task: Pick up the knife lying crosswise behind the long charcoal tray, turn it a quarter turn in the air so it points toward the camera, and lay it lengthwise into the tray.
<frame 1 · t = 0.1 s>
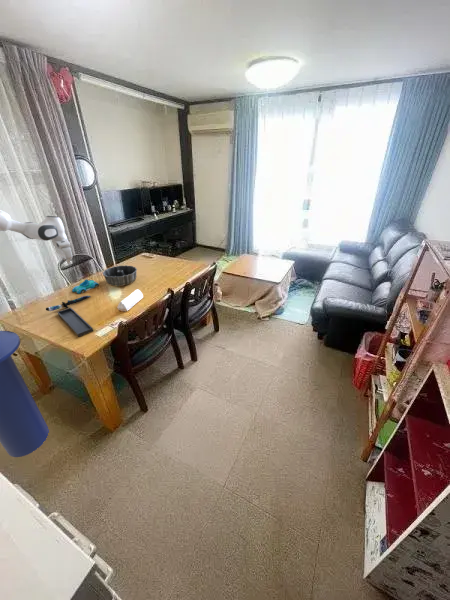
hand: (66, 262, 170), 29 cm above the table, tool pointing down, fingers open, 8 cm apart
white elongated bar: (131, 304, 179), on the table
bundt pan: (122, 282, 212), on the table
knife tray: (74, 322, 158), on the table
knife: (71, 306, 177), on the table
toy car: (85, 288, 201), on the table
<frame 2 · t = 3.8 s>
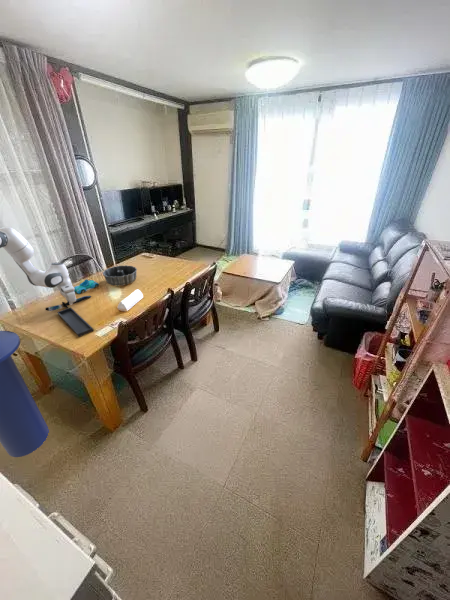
hand: (70, 303, 176), 2 cm above the table, tool pointing down, fingers closed on knife
knife: (71, 306, 177), on the table, touching gripper
everything else where it was.
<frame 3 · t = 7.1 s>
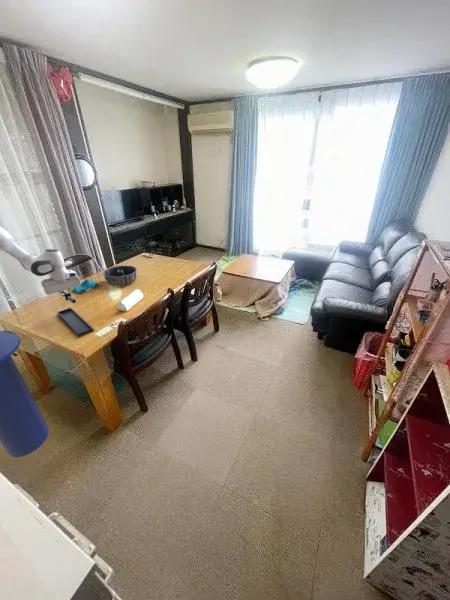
hand: (66, 295, 160), 14 cm above the table, tool pointing down, fingers closed on knife
knife: (67, 298, 162), point 12 cm above the table, touching gripper
everything else where it was.
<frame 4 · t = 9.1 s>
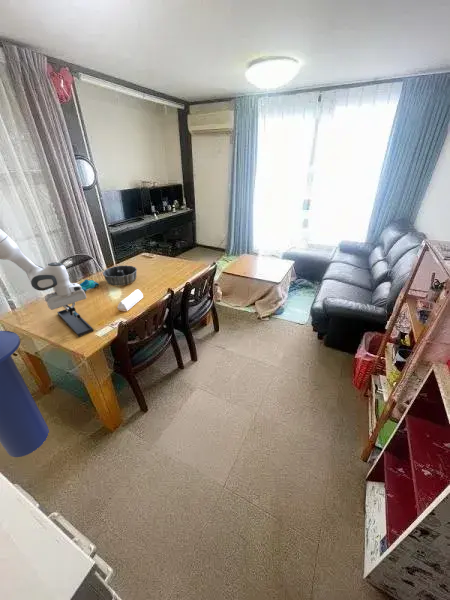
hand: (70, 310, 154), 9 cm above the table, tool pointing down, fingers closed on knife
knife: (71, 312, 155), point 7 cm above the table, touching gripper
everything else where it was.
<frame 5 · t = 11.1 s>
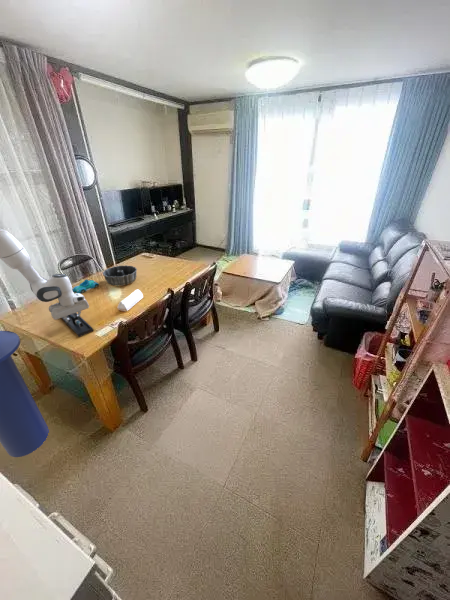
hand: (73, 319, 157), 2 cm above the table, tool pointing down, fingers open, 5 cm apart
knife: (75, 321, 158), resting on knife tray
everything else where it was.
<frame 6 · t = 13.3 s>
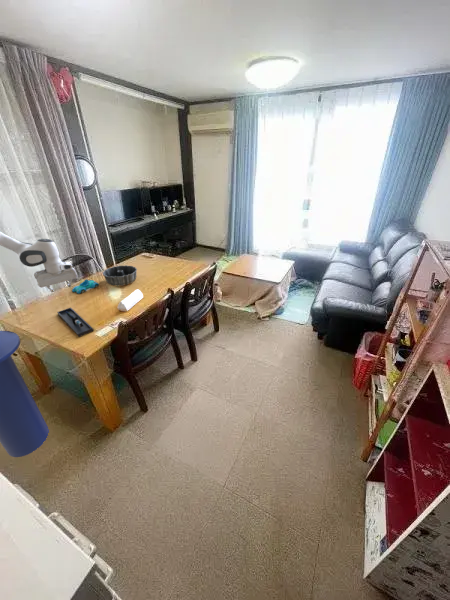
hand: (61, 289, 152), 21 cm above the table, tool pointing down, fingers open, 8 cm apart
nothing on the table moved.
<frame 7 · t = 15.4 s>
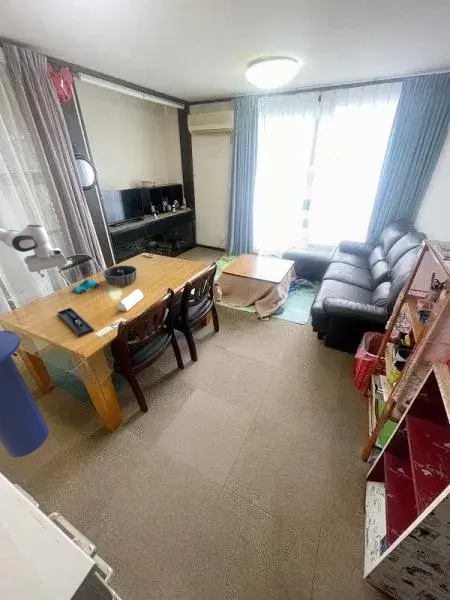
hand: (51, 274, 156), 27 cm above the table, tool pointing down, fingers open, 8 cm apart
nothing on the table moved.
at the end: knife inside the target area in the knife tray (0.1 cm from its centre), point 0.4 cm above the knife tray's base; the gripper is holding nothing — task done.
